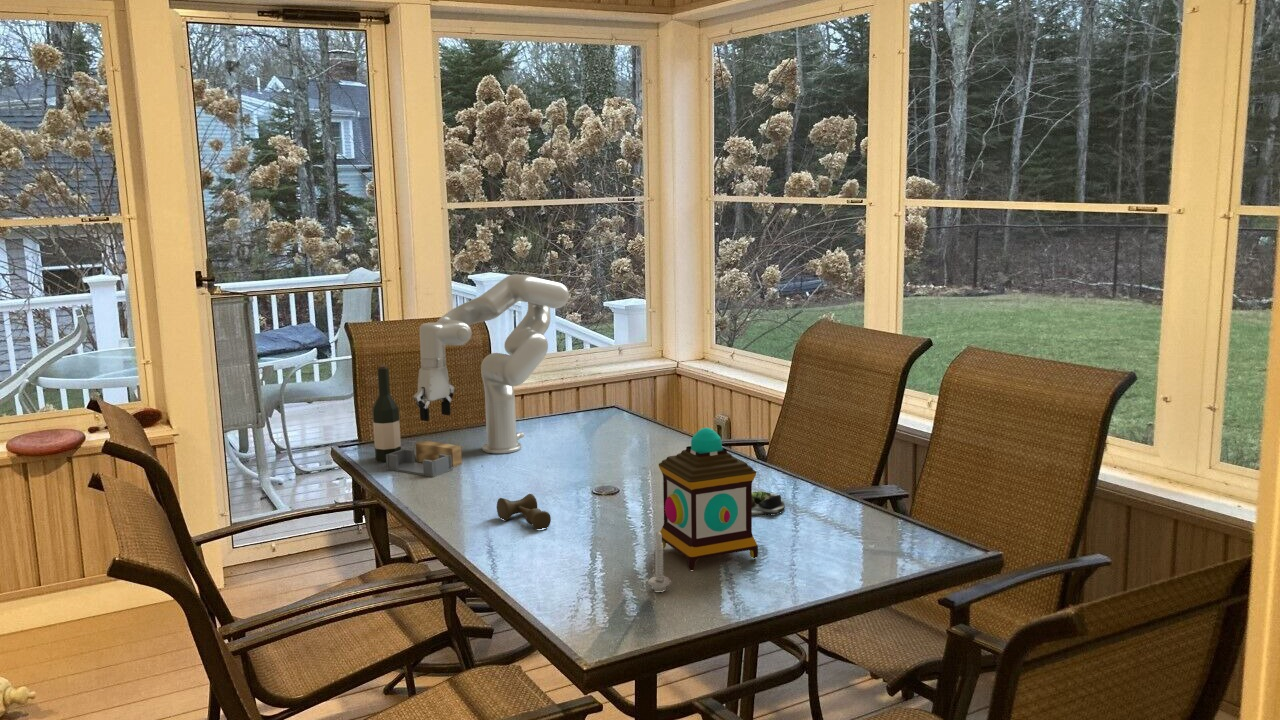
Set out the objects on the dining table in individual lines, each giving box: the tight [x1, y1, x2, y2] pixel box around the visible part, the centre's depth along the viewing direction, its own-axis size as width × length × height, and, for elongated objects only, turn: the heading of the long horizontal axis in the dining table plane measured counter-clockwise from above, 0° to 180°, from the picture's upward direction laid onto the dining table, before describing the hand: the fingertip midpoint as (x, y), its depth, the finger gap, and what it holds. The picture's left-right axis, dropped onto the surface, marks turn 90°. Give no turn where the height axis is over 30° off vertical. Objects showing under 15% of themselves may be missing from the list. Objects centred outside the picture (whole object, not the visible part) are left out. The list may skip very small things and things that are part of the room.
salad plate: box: [752, 490, 786, 516], centre depth 272 cm, size 19×18×5 cm
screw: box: [647, 531, 672, 592], centre depth 217 cm, size 13×5×5 cm
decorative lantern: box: [658, 427, 759, 571], centre depth 237 cm, size 20×20×30 cm
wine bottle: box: [371, 364, 402, 463], centre depth 326 cm, size 8×8×30 cm
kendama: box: [496, 493, 552, 530], centre depth 265 cm, size 6×10×20 cm
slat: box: [415, 440, 463, 468], centre depth 322 cm, size 15×4×6 cm, turn 59°
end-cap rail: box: [385, 447, 453, 478], centre depth 315 cm, size 19×8×5 cm, turn 59°
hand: (435, 417), depth 320 cm, fingers open, 9 cm apart
